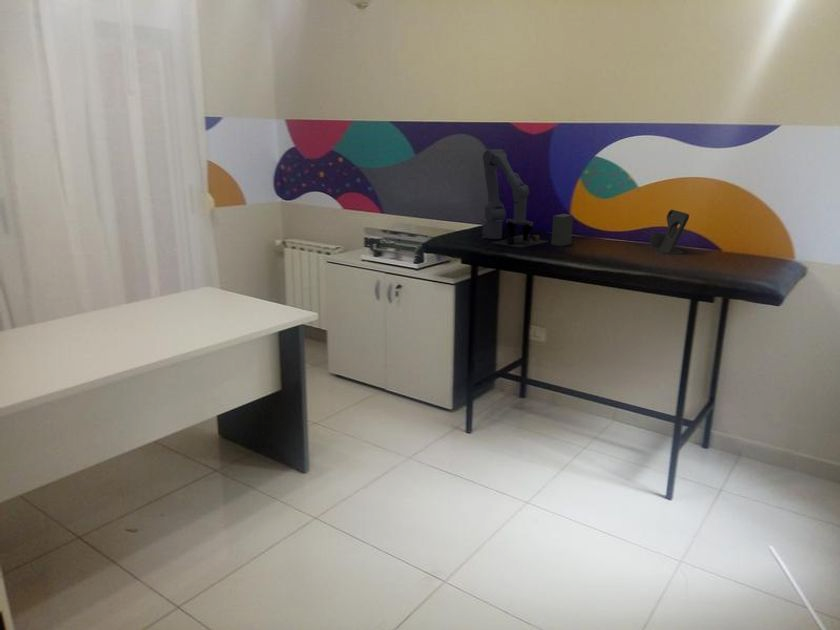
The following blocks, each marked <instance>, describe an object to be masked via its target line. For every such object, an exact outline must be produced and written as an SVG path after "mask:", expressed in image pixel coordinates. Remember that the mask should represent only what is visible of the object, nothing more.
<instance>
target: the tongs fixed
mask: <svg viewBox="0 0 840 630" xmlns="http://www.w3.org/2000/svg"><path fill="white" fill-rule="evenodd" d="M519 236H523V234H522V235H516V236H515V235H514V237H519ZM514 237H510V236H509V237H506V239H507V243H506V244H508V245H509V238H514ZM530 239H531V234H530V233H529V235H528V238H527V241H530Z"/></svg>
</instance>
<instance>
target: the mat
mask: <svg viewBox="0 0 840 630" xmlns="http://www.w3.org/2000/svg"><path fill="white" fill-rule="evenodd" d="M548 242H550V241H549V240H542V239H539V240H537V241H535V240H532V238H530V241H525V242H521V243H516V244H512V245H510V244H509V245H508V244H506V243H507V238H505V239H502V240H497V241H491V242H490V244H496V245H502V246H510V247H514V248H521V249H522V248H525V247H531V246H535V245H539V244H543V243H548Z"/></svg>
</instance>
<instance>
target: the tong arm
mask: <svg viewBox="0 0 840 630" xmlns="http://www.w3.org/2000/svg"><path fill="white" fill-rule="evenodd" d="M518 236H519V237H515V236H514V238H510V237H508V238H509V244H510V245H512V244H516V243H521V242H525V241H523V236H520V235H518ZM526 241H527V240H526Z"/></svg>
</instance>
